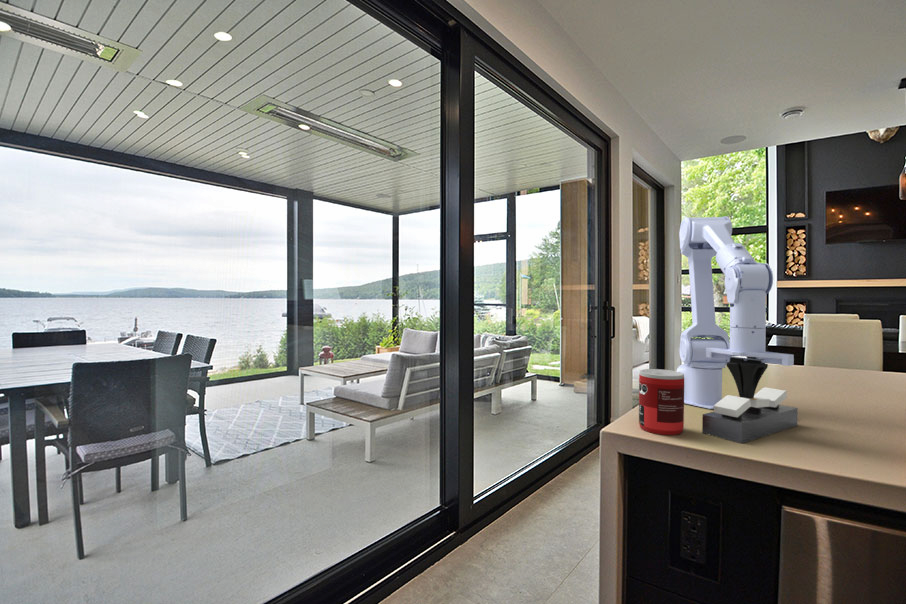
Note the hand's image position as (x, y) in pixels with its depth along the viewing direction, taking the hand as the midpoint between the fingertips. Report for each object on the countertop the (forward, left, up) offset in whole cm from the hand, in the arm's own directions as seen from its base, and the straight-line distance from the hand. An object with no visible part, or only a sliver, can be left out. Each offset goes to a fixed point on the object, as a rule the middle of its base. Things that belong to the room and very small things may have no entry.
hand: (746, 399), depth 87 cm
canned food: (-9, -13, -6) cm, 17 cm away
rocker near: (0, -5, -1) cm, 5 cm away
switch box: (0, +5, -6) cm, 8 cm away
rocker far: (0, +9, -1) cm, 9 cm away
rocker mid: (0, +2, -1) cm, 2 cm away
